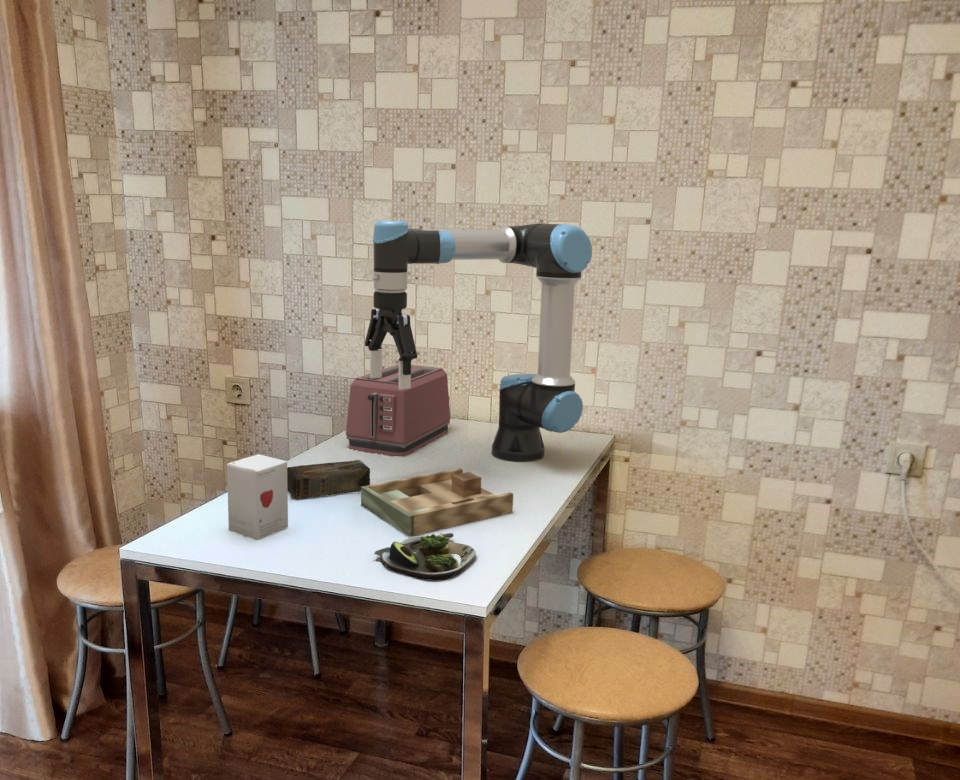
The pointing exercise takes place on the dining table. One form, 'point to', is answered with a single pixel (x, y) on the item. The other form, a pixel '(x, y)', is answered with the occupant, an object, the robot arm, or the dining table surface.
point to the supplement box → (257, 496)
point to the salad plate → (427, 557)
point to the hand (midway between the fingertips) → (389, 383)
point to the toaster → (398, 411)
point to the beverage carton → (327, 479)
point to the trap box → (430, 503)
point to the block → (466, 484)
